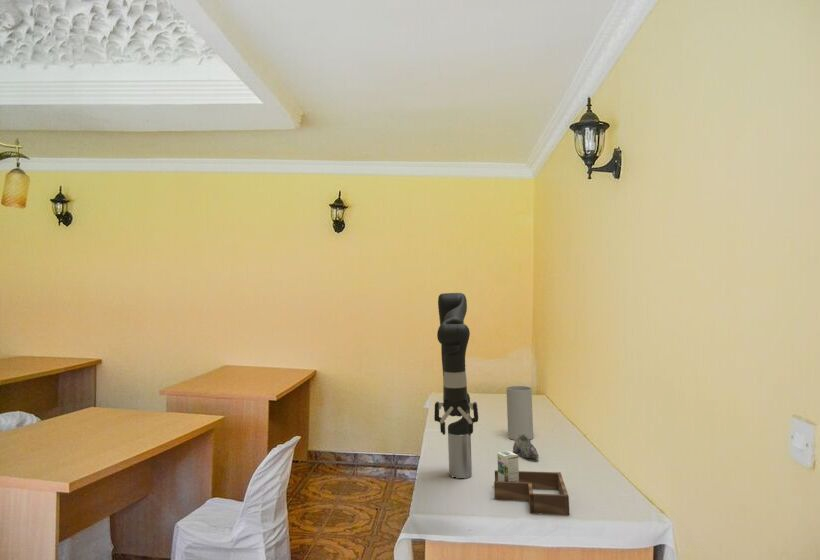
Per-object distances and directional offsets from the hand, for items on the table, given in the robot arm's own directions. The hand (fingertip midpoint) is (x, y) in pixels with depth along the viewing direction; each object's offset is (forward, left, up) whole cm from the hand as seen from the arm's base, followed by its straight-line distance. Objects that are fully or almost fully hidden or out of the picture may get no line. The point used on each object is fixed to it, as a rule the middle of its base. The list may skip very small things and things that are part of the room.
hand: (456, 434), depth 163 cm
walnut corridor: (-18, +23, -27) cm, 40 cm away
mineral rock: (-65, +24, -28) cm, 75 cm away
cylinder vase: (-96, +23, -28) cm, 103 cm away
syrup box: (-23, +16, -28) cm, 39 cm away
